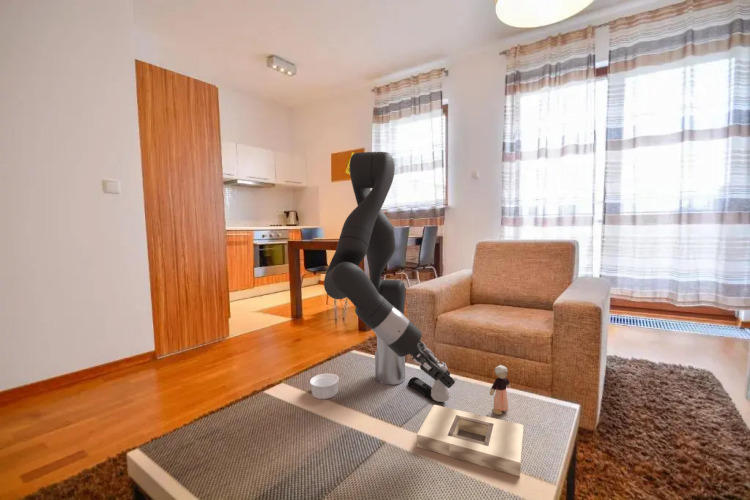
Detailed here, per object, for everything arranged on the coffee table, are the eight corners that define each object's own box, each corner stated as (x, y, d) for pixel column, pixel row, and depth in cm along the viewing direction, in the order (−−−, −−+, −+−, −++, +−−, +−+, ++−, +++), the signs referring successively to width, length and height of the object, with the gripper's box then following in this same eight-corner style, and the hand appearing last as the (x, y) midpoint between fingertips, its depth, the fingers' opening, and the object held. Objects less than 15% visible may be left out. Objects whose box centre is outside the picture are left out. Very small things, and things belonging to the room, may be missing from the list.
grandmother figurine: (500, 418, 88) (501, 372, 87) (487, 412, 91) (487, 367, 90) (514, 407, 93) (515, 363, 92) (501, 402, 96) (502, 359, 95)
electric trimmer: (439, 409, 94) (439, 398, 94) (406, 386, 107) (406, 376, 107) (449, 405, 96) (449, 394, 96) (416, 382, 109) (416, 373, 109)
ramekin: (304, 397, 101) (304, 383, 101) (320, 384, 109) (319, 371, 109) (330, 403, 98) (329, 388, 97) (344, 389, 106) (344, 375, 106)
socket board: (416, 446, 78) (416, 434, 78) (434, 415, 90) (434, 404, 90) (520, 476, 68) (520, 462, 68) (523, 436, 81) (523, 424, 80)
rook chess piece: (454, 397, 77) (454, 363, 77) (443, 404, 74) (443, 370, 74) (437, 390, 81) (437, 358, 80) (426, 397, 77) (426, 364, 77)
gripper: (412, 328, 68) (471, 383, 70) (403, 310, 82) (452, 356, 84) (387, 354, 69) (446, 409, 70) (382, 332, 83) (431, 377, 84)
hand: (449, 380), depth 77 cm, fingers closed on rook chess piece, 3 cm apart
